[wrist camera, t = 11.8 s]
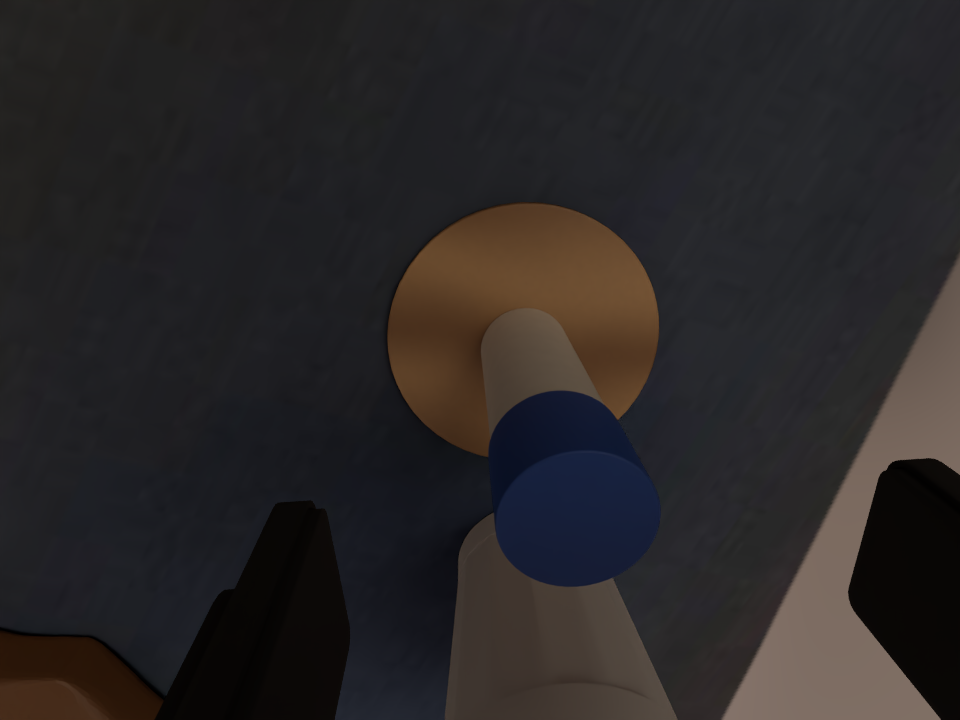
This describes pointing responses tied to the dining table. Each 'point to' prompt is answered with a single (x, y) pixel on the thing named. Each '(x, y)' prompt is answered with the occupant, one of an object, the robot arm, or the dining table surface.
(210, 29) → the dining table surface
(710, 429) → the dining table surface
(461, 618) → the cup
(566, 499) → the marker
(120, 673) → the plant
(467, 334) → the coaster
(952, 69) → the dining table surface
